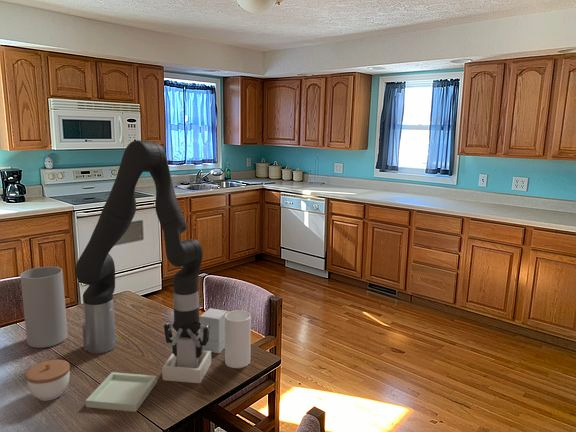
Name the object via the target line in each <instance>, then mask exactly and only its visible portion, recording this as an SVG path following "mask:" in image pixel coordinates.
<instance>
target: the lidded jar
mask: <svg viewBox="0 0 576 432" xmlns="http://www.w3.org/2000/svg"><path fill="white" fill-rule="evenodd" d="M70 371H71V366H70V363H69V362H68V361H66V360H64V359H49V360H44V361H42V362H39V363H37V364H34V365H33V366H31V367H30V368H29V369H27V371H26V372H25V379H26V384H27V388H28V391H29V392H30V394H31V395H32V396H34V398H36V399H38V400H39V401H43V402H47V401H53V400H55V399H56V398H57V399H58V398H59V397H61V396H62V394H63V392H65V390H66V389H67V387H68V386H69V382H70V377H71V372H70Z"/></svg>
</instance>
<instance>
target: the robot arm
mask: <svg viewBox="0 0 576 432" xmlns="http://www.w3.org/2000/svg"><path fill="white" fill-rule="evenodd" d="M143 173H149V174H150V176H151V178H152V179H153V182H154V186H155V201H154V202H155V203H154V205H155V206H154V207H155V213H156V216H157V219H158V222H159V224H160V227H161V229H162V232H163V239H164V248H165V257H166V258H167V261H168V262H169V264H171V265H172V266H174V267H177V268H180V267H181V269H179V270H178V271H176V272H175V274H174V275H173V299H172V301H173V322H171V321H167V322H166V323H165V324H164V325H163V330H164V337H165V342H166V344H171V349H172V353H173V354H174V356H177V344H176V341H177V340H178V338H179V337H180V336H181V337H188V338H192V340H193V341H194V342H195V344H196V345H197V347H196V358H199V357H200V356H201V355H202V346H206V344H207V342H208V341H209V330H210V325H209V324H207V325H206V326H205V325H201V324H200V298H199V297H200V295H199V288H198V287H199V286H198V285H199V282H198V281H199V274H200V270H201V265H202V261H203V258H204V257H203V256H204V252H203V247H202V244H201V243H200V241H198V240H197V239H195V238H189V239H185V240H182V241H181V234H183V233H185V232H186V230H187V228H188V225H187V222H186V219H185V217H184V214H183V212H182V209H181V207H180V203H179V202H178V199H177V196H176V193H175V188H174V184H173V183H174V182H173V180H172V179H173V178H172V175H171V171H170V167H169V162H168V158H167V154H166V152H165V149H164V148H163V146H162V145H161V144H159V143H157V142H154V141H149V140H148V141H147V140H140V139H139V140H137V139H136V140H133V141H130V142H129V144H128V145H126V148H125V150H124V152H123V155H122V158H121V161H120V164H119V167H118V171H117V174H116V177H115V180H114V183H113V185H112V188H111V190H110V192H109V195H108V198H107V199H106V201H105V203H104V206H103V207H102V208H103V209H102V211H101V213H100V216H99V218H98V220H97V223H96V225H95V227H94V229H93V232H92V234H91V237H90V239H89V241H88V242H87V244H86V246H85V248H84V250H83V252H82V253H81V255H80V257H79V258H78V260H77V262H76V264H75V268H74V271H75V277H76V279H77V281H78V282H79V283H80V284H83V285H88V286H87V288H86V289H85V290H84V292H83V294H82V302H83V305H82V306H83V316H84V322H83V323H82V324H81V329H82V341H83V342H82V343H83V351H86V352H88V353H89V354H96V355H97V354H104V353H108V352H110V351H112V350H114V348H115V347H117V338H116V321H115V307H114V306H115V305H114V304H115V303H114V293H115V290H116V268H115V267H116V265H115V260H114V259H113V257H112V256H111V254H110V252H111V250H112V249H113V247H115V245H116V244H117V243H118V242H120V240H121V238H122V237H123V236H124V235H125V234H126V232H127V231H128V230H129V228H130V226H131V224H132V221H133V219H134V217H135V214H136V212H137V199H136V196H135V191H136V186H137V184H138V181H139V179H140V178H141V175H142V174H143ZM173 329H174V330H175V333H176V334H175V336H174V337H173V331H172V330H173ZM200 329H201V330H202V333H203V340H202V339H201V337H200ZM195 335H196V336H195Z"/></svg>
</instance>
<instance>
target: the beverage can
mask: <svg viewBox="0 0 576 432" xmlns="http://www.w3.org/2000/svg"><path fill="white" fill-rule="evenodd" d="M195 336H196V335H195ZM176 344H177V365H176V367H187V368H198V367H199V364H198V358H196V347H197V345H196V344H195V342H194V341H193V340H192V338H188V337H181V336H180V337H179V338H178V340H177V341H176Z"/></svg>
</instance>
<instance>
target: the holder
mask: <svg viewBox="0 0 576 432" xmlns="http://www.w3.org/2000/svg"><path fill="white" fill-rule="evenodd" d="M211 364H212V352H211V351H205V350H202V355H201V356H200V357H199V358H198V368H187V367H177V356H174V354H173V352H172V353H171V354H170V356H169V357H168V359H166V362H164V364H163V365H162V367H161V371H162V374H161V375H162V381H168V382H169V381H170V382H181V383H193V384H201V382H202V381H203V379H204V377H205V375H206V373H207V372H208V370H209V368H210V366H211Z"/></svg>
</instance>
